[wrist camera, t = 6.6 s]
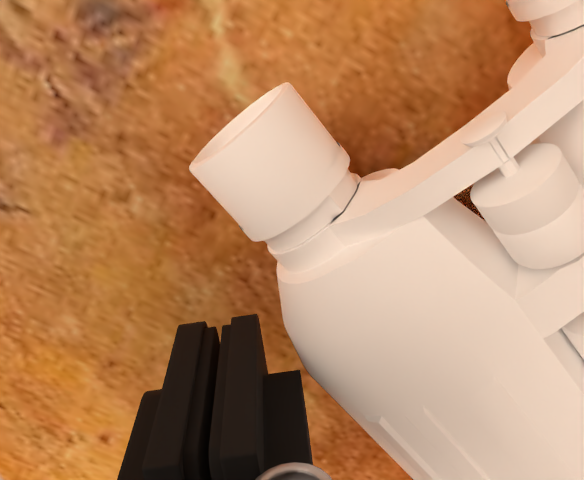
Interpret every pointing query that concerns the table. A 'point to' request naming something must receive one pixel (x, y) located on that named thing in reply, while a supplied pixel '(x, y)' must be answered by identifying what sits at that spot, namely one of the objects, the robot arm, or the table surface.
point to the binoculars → (436, 266)
